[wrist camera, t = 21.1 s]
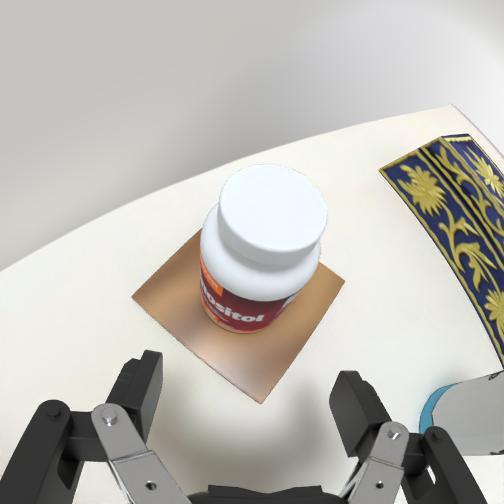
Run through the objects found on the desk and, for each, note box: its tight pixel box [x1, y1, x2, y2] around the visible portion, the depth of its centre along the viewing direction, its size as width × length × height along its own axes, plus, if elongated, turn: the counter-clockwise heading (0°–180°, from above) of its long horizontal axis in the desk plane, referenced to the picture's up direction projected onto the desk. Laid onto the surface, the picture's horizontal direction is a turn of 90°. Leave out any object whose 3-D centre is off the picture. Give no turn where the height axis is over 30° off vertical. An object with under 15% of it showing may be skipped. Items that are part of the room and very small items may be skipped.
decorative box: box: [379, 134, 504, 368], centre depth 25 cm, size 11×30×9 cm, turn 28°
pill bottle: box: [200, 164, 328, 333], centre depth 17 cm, size 6×6×11 cm
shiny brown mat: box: [132, 228, 345, 404], centre depth 22 cm, size 12×12×1 cm
